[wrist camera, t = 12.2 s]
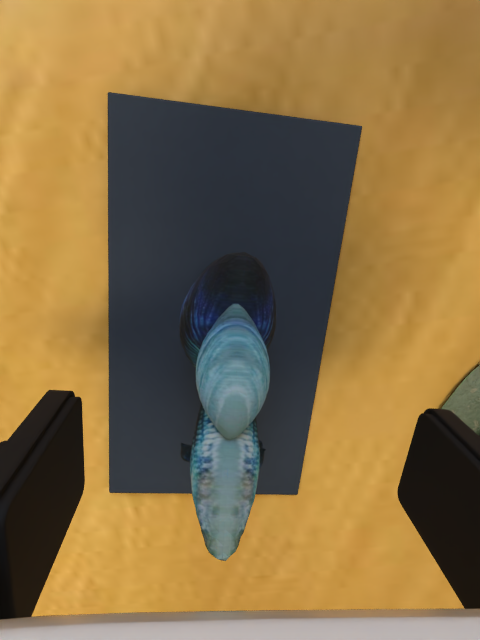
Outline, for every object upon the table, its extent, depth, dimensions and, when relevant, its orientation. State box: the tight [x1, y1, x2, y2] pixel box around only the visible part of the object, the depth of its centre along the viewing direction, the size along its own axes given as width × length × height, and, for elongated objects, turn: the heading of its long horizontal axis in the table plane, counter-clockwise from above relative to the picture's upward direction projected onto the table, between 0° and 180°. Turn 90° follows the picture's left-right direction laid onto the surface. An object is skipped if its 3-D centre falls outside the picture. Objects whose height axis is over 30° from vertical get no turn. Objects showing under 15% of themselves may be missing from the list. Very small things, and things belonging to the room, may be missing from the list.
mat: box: [108, 92, 362, 495], centre depth 21 cm, size 22×12×1 cm, turn 174°
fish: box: [179, 252, 277, 561], centre depth 16 cm, size 4×10×10 cm, turn 174°
